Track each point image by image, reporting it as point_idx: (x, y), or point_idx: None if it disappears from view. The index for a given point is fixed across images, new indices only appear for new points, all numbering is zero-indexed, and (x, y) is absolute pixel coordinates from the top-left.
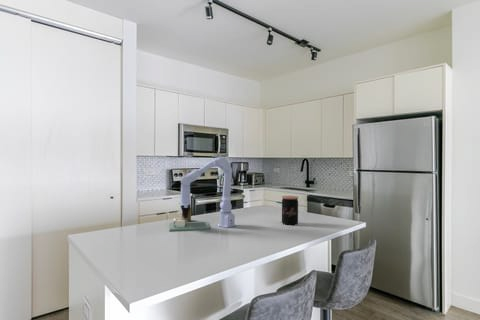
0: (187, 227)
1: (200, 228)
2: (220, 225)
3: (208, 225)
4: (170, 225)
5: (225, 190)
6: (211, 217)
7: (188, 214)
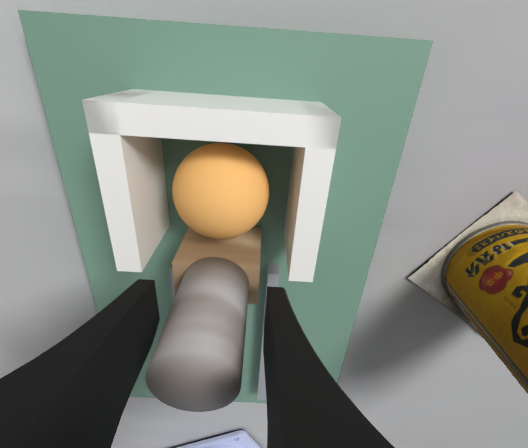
0: None
1: None
2: (206, 442)
3: None
4: (274, 45)
5: None
6: (513, 438)
7: (499, 349)
